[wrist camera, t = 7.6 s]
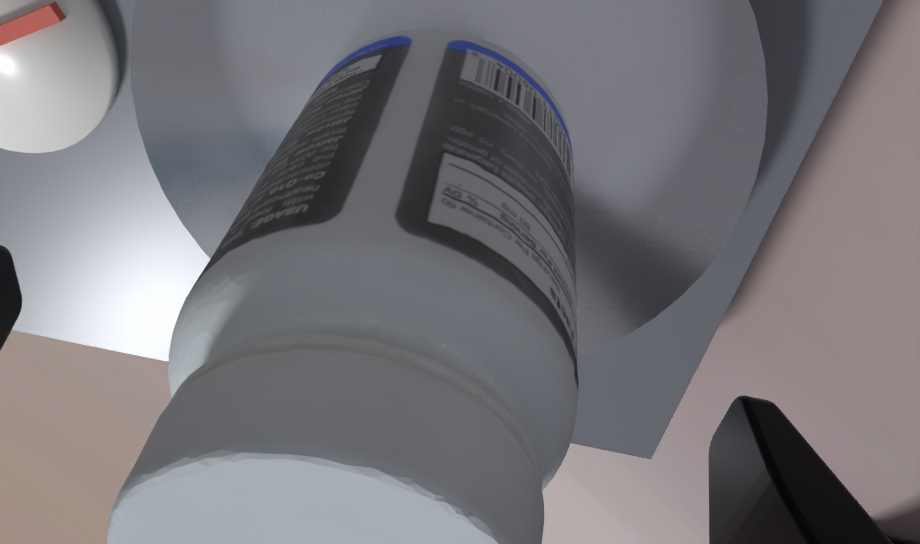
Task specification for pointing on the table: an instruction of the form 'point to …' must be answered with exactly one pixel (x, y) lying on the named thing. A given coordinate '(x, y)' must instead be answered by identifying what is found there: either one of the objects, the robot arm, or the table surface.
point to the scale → (182, 260)
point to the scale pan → (549, 55)
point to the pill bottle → (380, 320)
